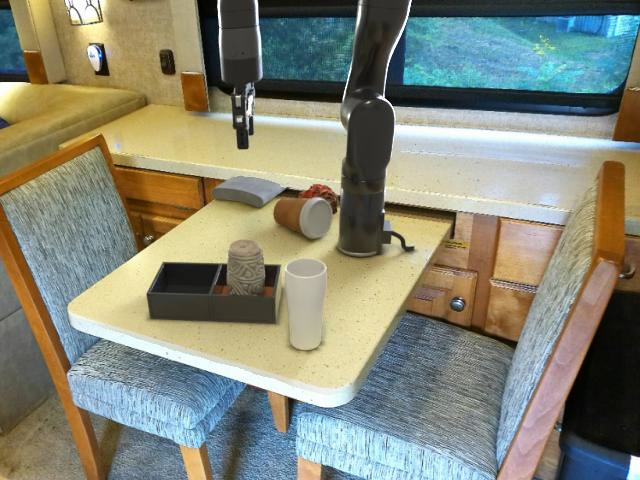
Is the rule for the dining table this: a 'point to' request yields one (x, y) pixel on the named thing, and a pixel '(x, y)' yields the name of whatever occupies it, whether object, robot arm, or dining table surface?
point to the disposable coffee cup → (304, 215)
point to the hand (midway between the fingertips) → (246, 141)
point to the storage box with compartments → (210, 294)
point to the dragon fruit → (321, 195)
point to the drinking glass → (305, 301)
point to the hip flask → (248, 190)
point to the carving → (245, 268)
